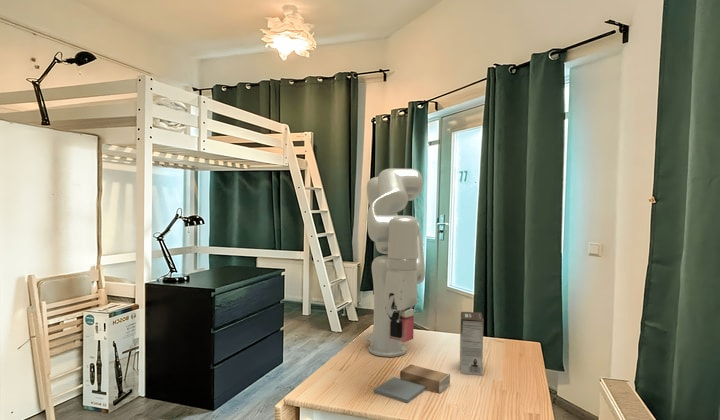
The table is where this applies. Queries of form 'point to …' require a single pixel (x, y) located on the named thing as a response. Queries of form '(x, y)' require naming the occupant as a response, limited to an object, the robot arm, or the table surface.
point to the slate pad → (400, 389)
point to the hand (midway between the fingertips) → (401, 333)
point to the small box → (406, 325)
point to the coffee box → (471, 343)
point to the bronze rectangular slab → (426, 378)
